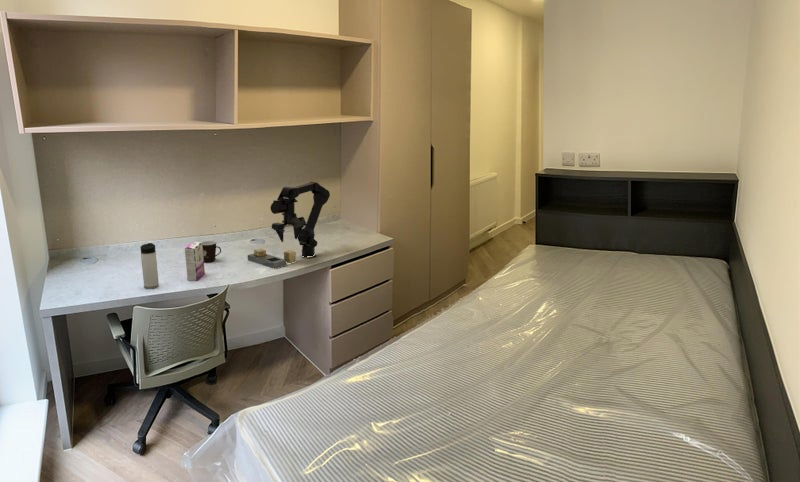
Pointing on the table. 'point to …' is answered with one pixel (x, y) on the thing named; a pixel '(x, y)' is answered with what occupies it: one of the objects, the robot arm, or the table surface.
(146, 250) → the travel mug
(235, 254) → the table surface
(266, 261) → the grey slotted base
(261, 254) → the seated nut
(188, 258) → the candy bar box
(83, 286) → the table surface
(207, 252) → the coffee mug
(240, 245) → the table surface
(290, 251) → the tan wooden block
